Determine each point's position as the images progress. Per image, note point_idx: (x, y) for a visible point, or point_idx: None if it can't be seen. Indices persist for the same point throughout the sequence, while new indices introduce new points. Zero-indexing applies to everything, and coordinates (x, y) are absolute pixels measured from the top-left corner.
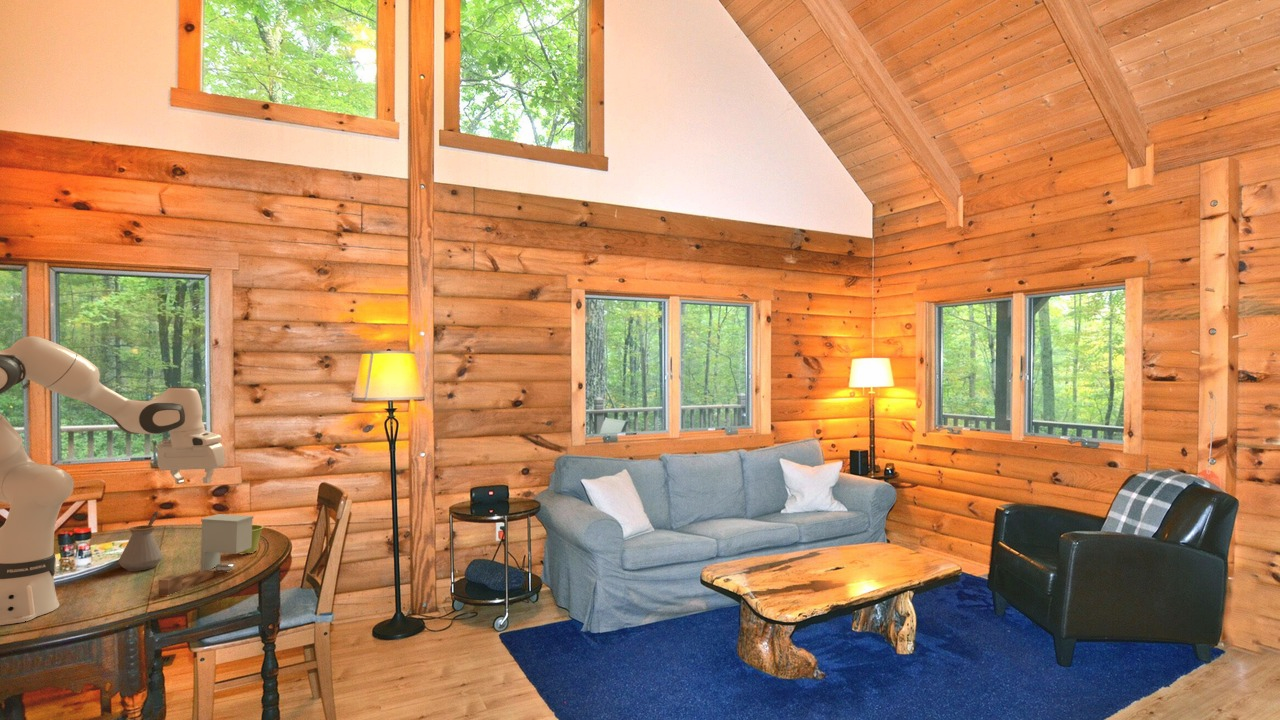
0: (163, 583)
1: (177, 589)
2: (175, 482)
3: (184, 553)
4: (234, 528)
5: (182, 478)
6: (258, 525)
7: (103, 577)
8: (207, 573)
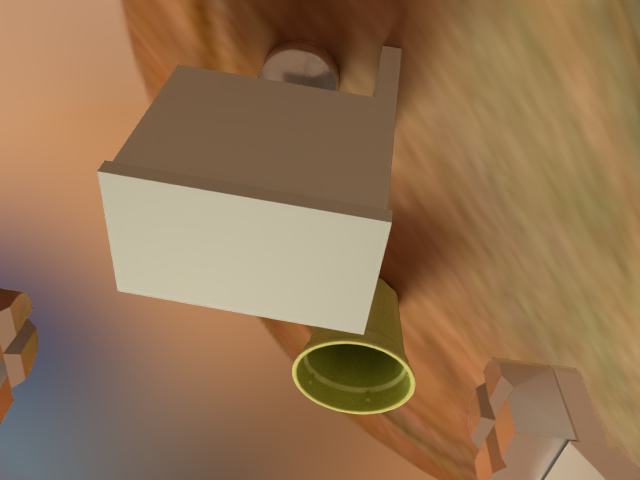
0: None
1: None
2: (580, 381)
3: (611, 295)
4: (141, 147)
5: (486, 461)
6: (334, 407)
7: None
8: None
